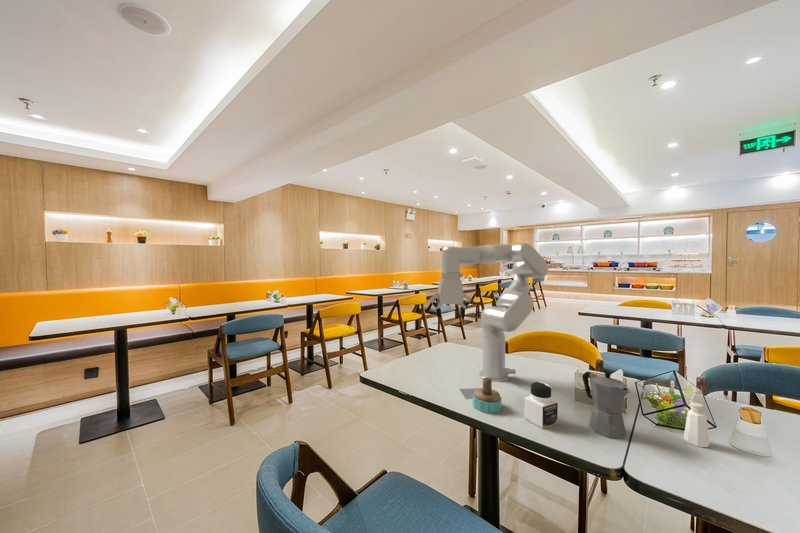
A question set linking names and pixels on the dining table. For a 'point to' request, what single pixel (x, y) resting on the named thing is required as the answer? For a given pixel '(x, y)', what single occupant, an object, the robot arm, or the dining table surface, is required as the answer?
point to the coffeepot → (606, 404)
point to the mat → (468, 392)
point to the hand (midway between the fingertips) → (450, 317)
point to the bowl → (487, 405)
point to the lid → (487, 392)
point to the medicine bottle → (541, 406)
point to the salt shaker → (696, 426)
